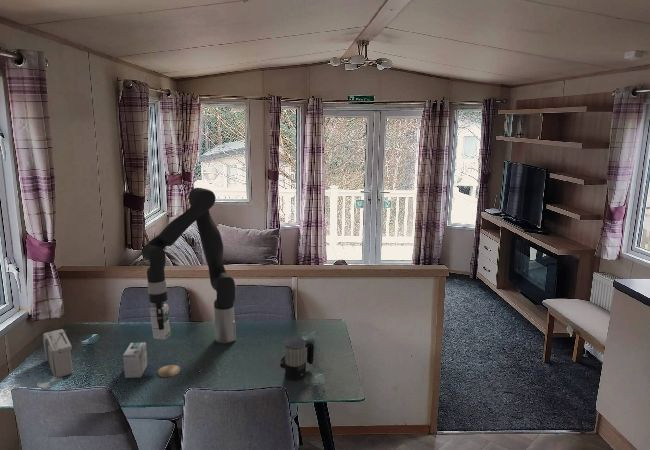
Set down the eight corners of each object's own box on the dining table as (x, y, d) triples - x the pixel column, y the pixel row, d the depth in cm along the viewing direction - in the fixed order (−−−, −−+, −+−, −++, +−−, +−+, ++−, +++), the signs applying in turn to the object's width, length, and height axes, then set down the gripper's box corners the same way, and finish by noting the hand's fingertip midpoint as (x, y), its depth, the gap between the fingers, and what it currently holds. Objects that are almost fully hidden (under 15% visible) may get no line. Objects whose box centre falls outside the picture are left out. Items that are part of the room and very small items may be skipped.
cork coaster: (179, 364, 211) (179, 363, 211) (180, 375, 203) (180, 374, 203) (157, 368, 208) (157, 367, 208) (158, 378, 200) (158, 377, 200)
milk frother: (297, 383, 198) (297, 350, 194) (267, 372, 206) (266, 340, 202) (316, 368, 209) (317, 336, 206) (287, 358, 218) (287, 327, 214)
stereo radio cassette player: (45, 360, 214) (39, 318, 209) (66, 354, 219) (60, 313, 214) (53, 381, 198) (47, 336, 193) (75, 374, 203) (70, 330, 198)
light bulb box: (132, 364, 211) (130, 342, 208) (148, 364, 211) (146, 341, 209) (124, 378, 200) (122, 354, 198) (141, 377, 201) (139, 354, 199)
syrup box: (165, 339, 208) (162, 308, 204) (152, 338, 209) (149, 307, 206) (171, 333, 214) (168, 303, 210) (159, 332, 215) (156, 302, 211)
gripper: (167, 295, 201) (171, 331, 205) (166, 283, 214) (169, 317, 218) (148, 297, 198) (152, 334, 202) (148, 285, 211) (151, 320, 215)
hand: (161, 325), depth 210 cm, fingers closed on syrup box, 7 cm apart
